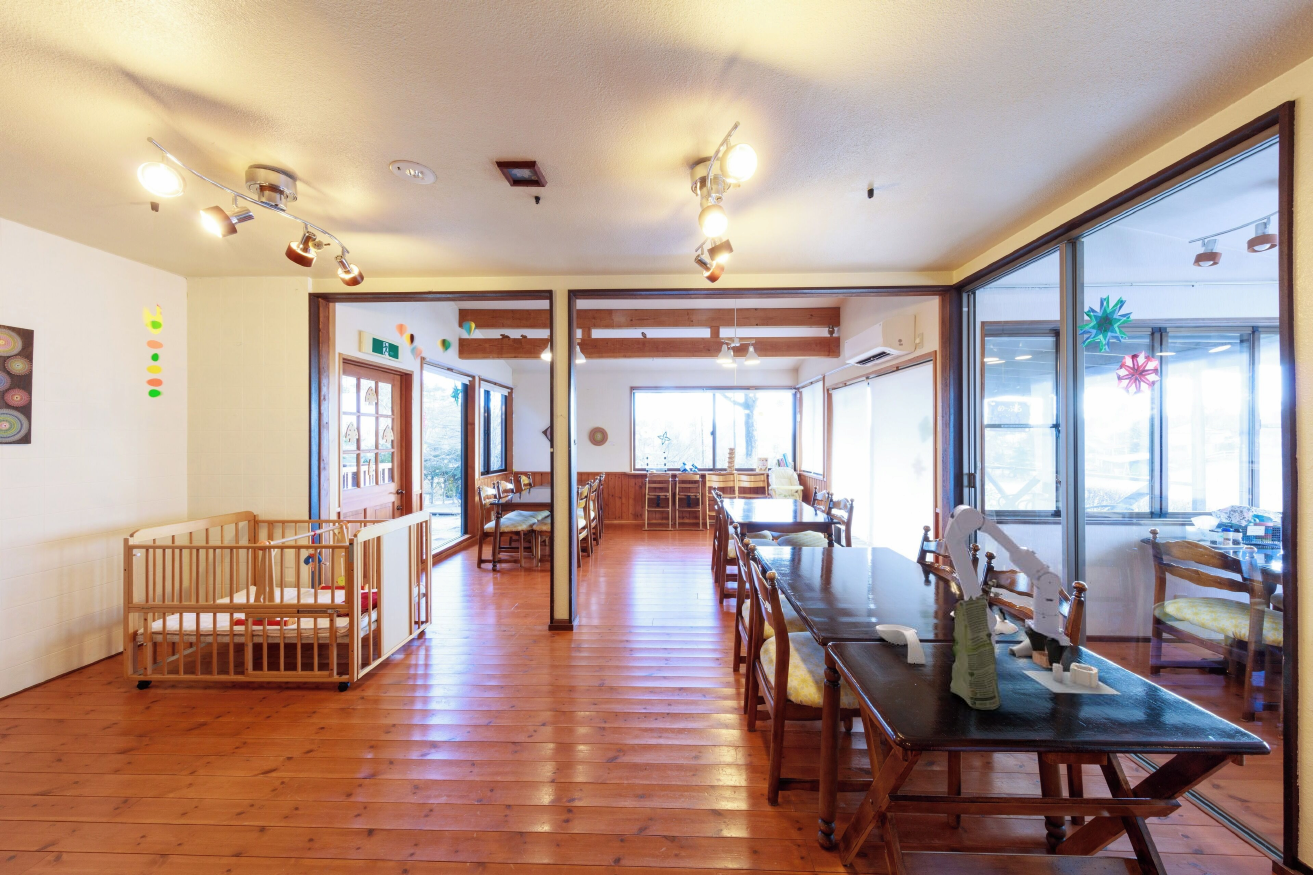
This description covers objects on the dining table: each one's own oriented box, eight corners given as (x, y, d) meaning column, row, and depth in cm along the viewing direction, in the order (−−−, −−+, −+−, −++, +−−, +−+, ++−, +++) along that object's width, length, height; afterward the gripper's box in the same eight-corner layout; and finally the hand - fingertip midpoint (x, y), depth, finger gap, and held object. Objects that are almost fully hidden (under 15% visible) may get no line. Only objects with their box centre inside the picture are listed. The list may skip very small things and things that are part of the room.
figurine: (938, 616, 180) (943, 571, 179) (971, 610, 188) (975, 567, 187) (996, 641, 162) (1001, 592, 161) (1029, 633, 170) (1034, 586, 169)
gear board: (1054, 696, 124) (1054, 675, 124) (1021, 674, 136) (1021, 655, 136) (1122, 698, 123) (1122, 677, 123) (1083, 676, 135) (1083, 657, 135)
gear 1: (1043, 671, 138) (1043, 658, 138) (1030, 663, 143) (1030, 650, 143) (1063, 671, 138) (1063, 658, 138) (1049, 663, 143) (1049, 651, 143)
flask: (1055, 643, 143) (1023, 651, 142) (1052, 663, 145) (1021, 672, 144) (1032, 627, 150) (1002, 634, 149) (1030, 646, 152) (1001, 654, 151)
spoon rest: (871, 633, 166) (870, 611, 166) (908, 635, 165) (908, 613, 165) (896, 664, 143) (896, 638, 143) (940, 666, 141) (940, 640, 141)
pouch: (956, 709, 117) (956, 601, 118) (940, 685, 129) (940, 587, 130) (1010, 715, 115) (1009, 605, 115) (989, 690, 126) (988, 590, 127)
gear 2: (1095, 688, 126) (1095, 674, 126) (1069, 681, 130) (1069, 667, 130) (1098, 681, 130) (1098, 668, 130) (1073, 675, 133) (1072, 661, 134)
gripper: (1081, 621, 133) (1082, 673, 133) (1042, 604, 148) (1042, 651, 147) (1053, 621, 134) (1054, 672, 133) (1017, 604, 148) (1017, 650, 148)
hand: (1046, 661), depth 140 cm, fingers closed on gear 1, 5 cm apart
